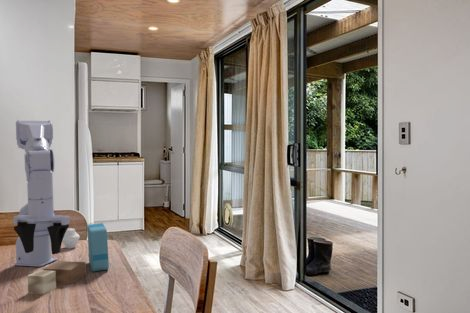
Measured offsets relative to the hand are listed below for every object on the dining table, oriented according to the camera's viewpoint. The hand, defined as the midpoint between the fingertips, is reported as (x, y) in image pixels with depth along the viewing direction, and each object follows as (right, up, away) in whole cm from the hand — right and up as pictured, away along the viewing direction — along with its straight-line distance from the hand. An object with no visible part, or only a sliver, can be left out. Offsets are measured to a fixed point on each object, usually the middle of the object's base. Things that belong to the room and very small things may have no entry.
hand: (42, 252), depth 102 cm
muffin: (-10, -9, +44) cm, 46 cm away
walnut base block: (+2, -10, +9) cm, 13 cm away
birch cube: (0, -10, 0) cm, 10 cm away
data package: (+7, -9, +20) cm, 23 cm away
